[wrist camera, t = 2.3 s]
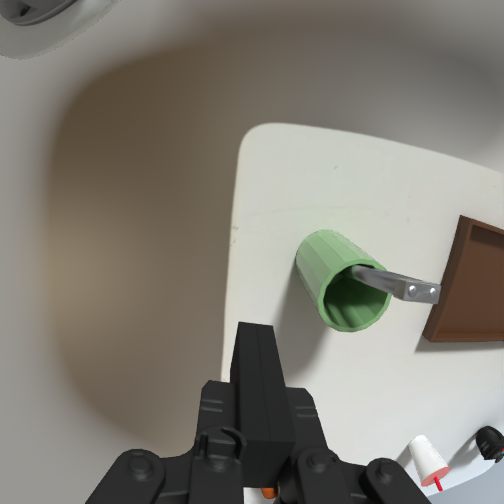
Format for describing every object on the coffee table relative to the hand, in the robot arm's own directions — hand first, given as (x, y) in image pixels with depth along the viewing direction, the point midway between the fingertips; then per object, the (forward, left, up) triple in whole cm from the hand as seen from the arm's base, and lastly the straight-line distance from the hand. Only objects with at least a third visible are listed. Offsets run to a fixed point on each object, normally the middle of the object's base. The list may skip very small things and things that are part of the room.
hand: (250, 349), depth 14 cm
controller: (+62, +18, -17) cm, 67 cm away
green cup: (+5, +6, -16) cm, 18 cm away
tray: (+31, +31, -16) cm, 47 cm away
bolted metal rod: (+4, +7, -8) cm, 11 cm away
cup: (+45, +4, -17) cm, 49 cm away
